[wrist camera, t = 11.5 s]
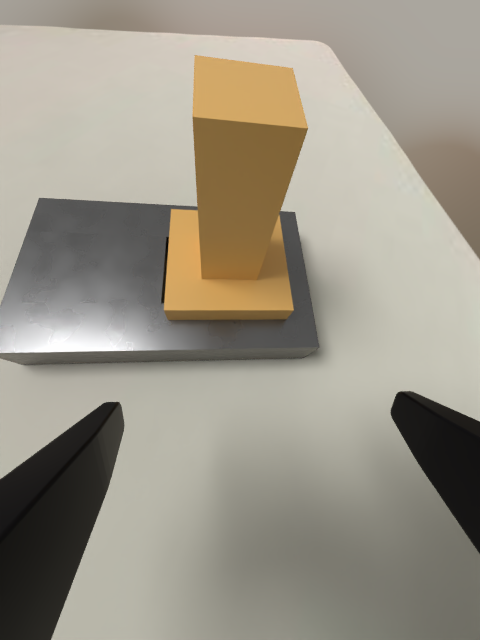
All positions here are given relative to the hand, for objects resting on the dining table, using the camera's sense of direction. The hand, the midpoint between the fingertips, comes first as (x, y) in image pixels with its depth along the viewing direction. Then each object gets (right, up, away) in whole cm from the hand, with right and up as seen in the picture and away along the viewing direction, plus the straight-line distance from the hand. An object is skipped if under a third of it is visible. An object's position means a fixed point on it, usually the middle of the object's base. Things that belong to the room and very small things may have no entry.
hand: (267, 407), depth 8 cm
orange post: (-2, +6, +12) cm, 14 cm away
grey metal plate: (-6, +5, +12) cm, 15 cm away
